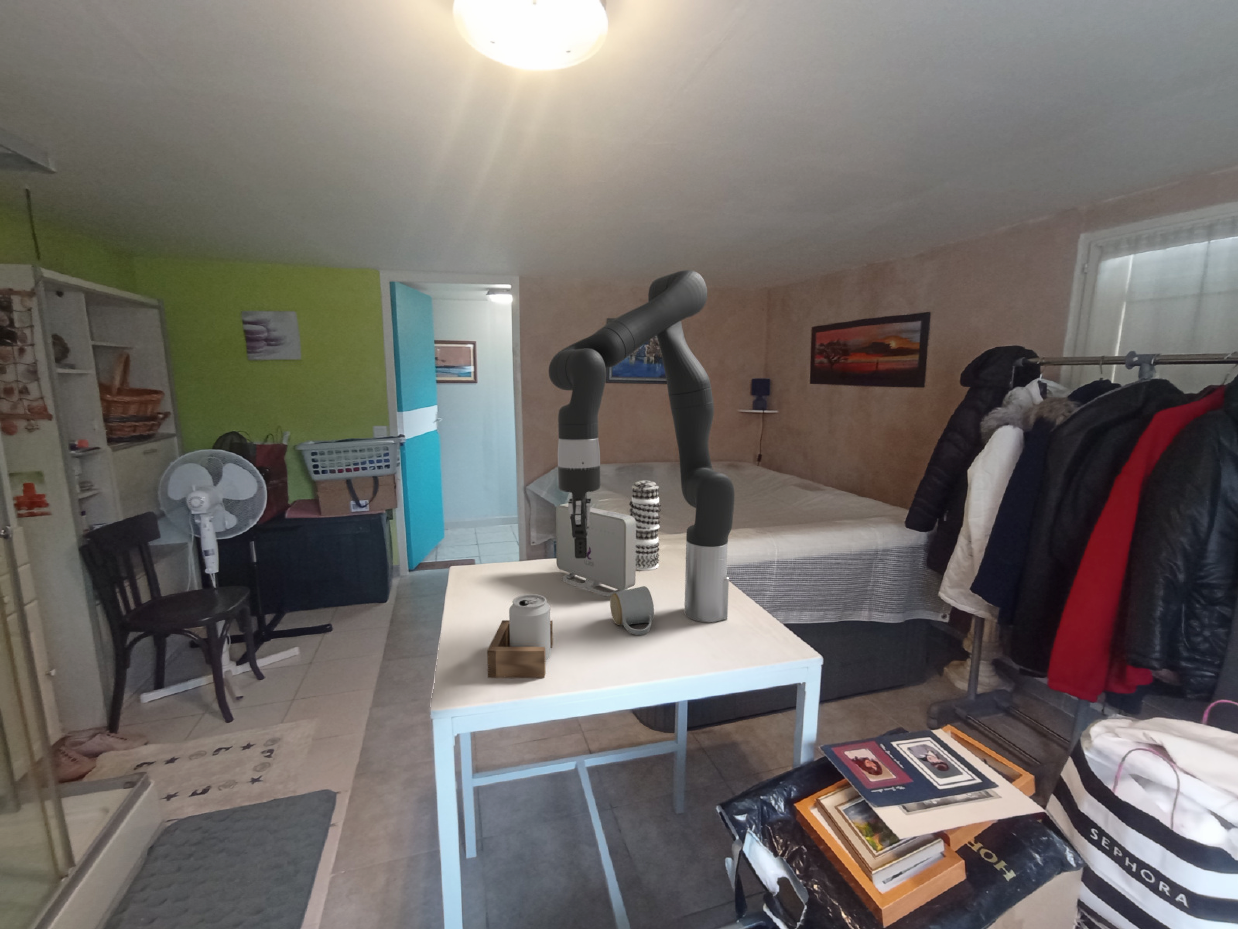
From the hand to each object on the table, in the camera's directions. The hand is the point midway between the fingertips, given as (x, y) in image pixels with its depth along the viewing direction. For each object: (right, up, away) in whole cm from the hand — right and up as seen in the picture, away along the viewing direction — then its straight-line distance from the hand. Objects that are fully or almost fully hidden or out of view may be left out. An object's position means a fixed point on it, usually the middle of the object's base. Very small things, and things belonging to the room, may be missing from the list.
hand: (581, 557), depth 96 cm
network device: (0, -15, +43) cm, 45 cm away
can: (-10, -20, +3) cm, 23 cm away
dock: (-11, -20, +3) cm, 23 cm away
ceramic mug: (+10, -18, +18) cm, 28 cm away
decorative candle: (+14, -13, +58) cm, 61 cm away
